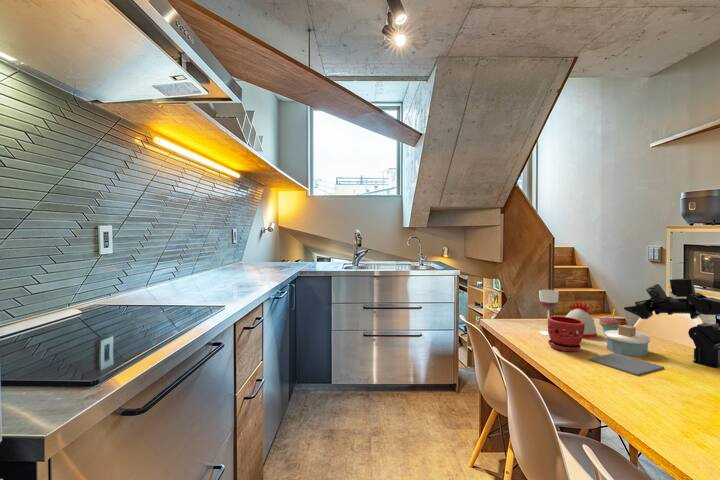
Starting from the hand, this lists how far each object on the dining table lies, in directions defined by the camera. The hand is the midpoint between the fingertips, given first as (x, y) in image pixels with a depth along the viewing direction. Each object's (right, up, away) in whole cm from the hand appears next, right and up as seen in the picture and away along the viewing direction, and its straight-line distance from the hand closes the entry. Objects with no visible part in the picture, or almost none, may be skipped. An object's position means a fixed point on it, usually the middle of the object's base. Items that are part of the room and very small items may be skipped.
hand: (629, 305), depth 151 cm
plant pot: (-30, -17, -5) cm, 35 cm away
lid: (-7, -12, -8) cm, 15 cm away
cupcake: (+4, -16, +18) cm, 25 cm away
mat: (-19, -17, -23) cm, 34 cm away
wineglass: (-26, -16, +17) cm, 35 cm away
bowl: (-7, -17, -8) cm, 20 cm away
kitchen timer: (-11, -16, +17) cm, 26 cm away
